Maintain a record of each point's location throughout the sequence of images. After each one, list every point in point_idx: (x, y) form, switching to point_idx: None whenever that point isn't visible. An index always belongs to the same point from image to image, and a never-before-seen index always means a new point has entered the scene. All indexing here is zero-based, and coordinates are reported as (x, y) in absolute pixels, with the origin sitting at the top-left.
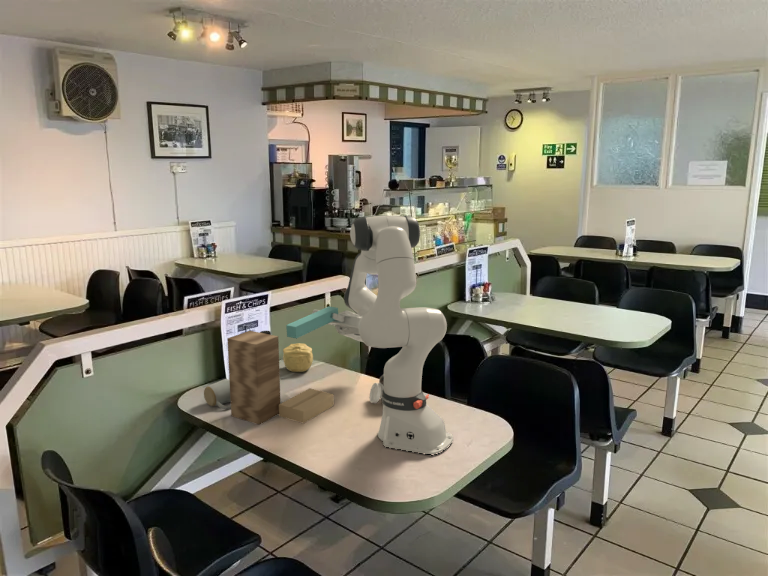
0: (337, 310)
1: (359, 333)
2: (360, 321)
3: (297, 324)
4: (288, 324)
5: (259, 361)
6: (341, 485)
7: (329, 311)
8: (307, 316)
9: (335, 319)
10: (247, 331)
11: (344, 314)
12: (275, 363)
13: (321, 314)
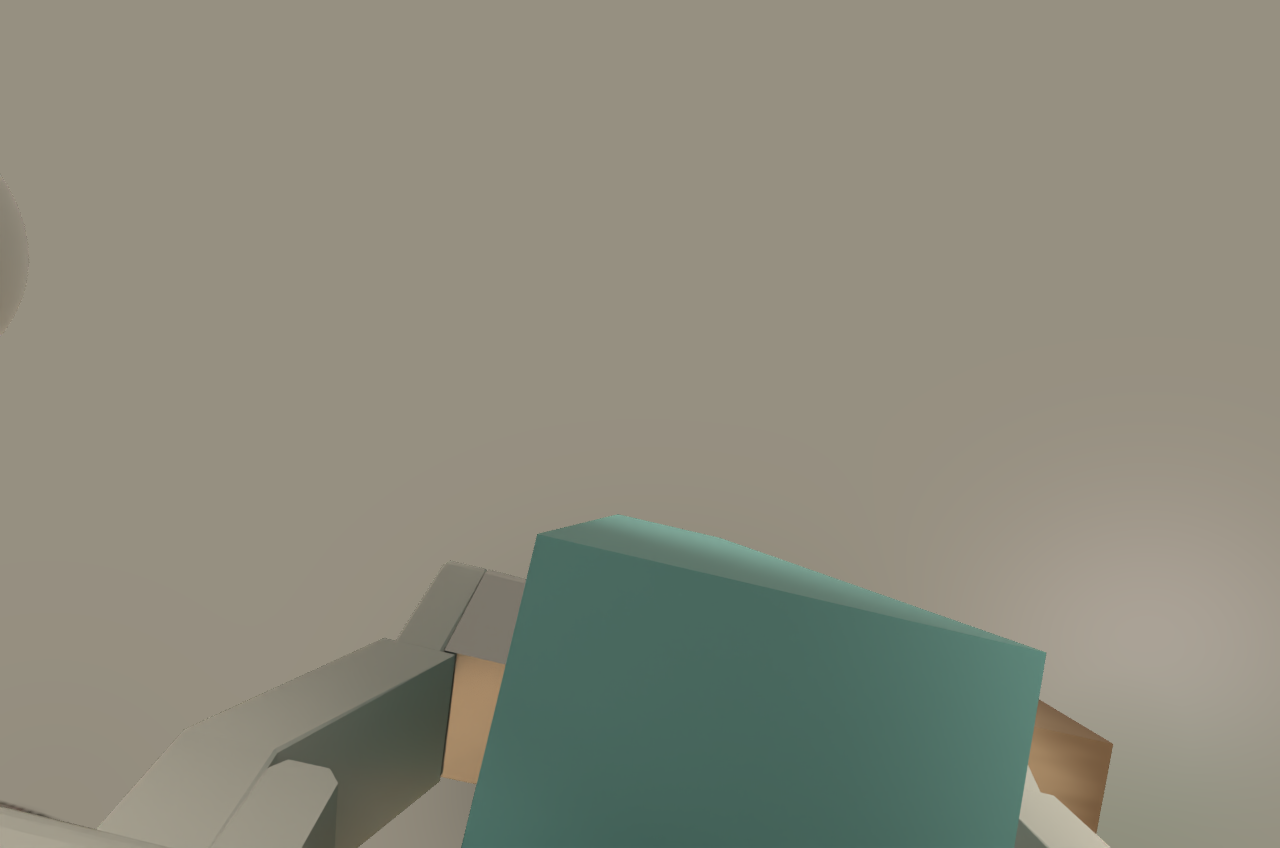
0: (514, 643)
1: (14, 314)
2: (24, 227)
3: (646, 521)
4: (717, 537)
5: None
6: (35, 813)
7: (587, 523)
8: (746, 549)
9: (415, 779)
10: (1092, 732)
11: (104, 846)
12: None
13: (622, 524)
